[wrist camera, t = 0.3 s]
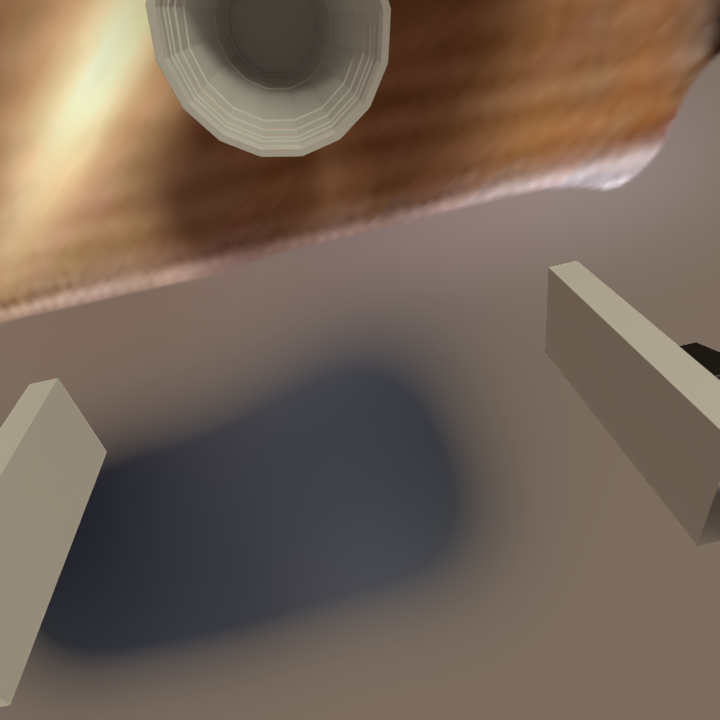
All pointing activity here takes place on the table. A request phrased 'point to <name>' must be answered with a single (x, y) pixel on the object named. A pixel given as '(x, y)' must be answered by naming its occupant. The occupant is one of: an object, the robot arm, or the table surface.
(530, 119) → the table surface
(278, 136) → the plastic cup
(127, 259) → the table surface
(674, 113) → the table surface
